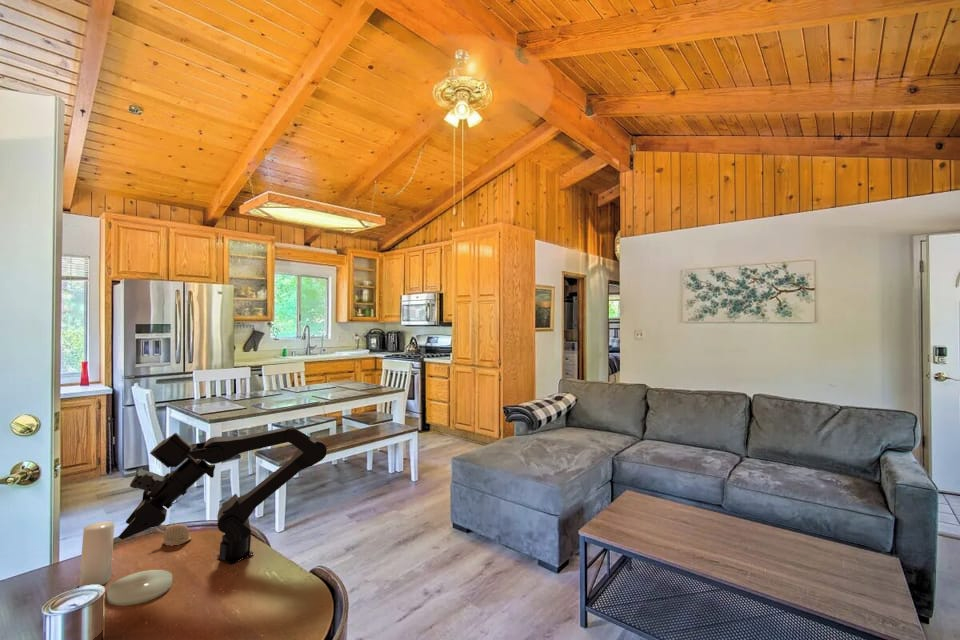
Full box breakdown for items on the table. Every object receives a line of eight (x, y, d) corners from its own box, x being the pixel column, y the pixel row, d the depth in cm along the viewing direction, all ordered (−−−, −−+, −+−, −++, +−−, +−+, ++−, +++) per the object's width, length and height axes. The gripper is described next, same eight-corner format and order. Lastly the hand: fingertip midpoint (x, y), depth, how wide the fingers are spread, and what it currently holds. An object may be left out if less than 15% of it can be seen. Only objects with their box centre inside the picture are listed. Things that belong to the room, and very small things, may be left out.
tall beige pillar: (103, 573, 109) (107, 519, 110) (114, 580, 107) (119, 524, 107) (74, 583, 104) (79, 527, 105) (85, 591, 102) (90, 533, 102)
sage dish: (155, 570, 111) (156, 564, 112) (182, 586, 106) (183, 579, 106) (96, 594, 101) (97, 587, 101) (122, 612, 95) (123, 605, 95)
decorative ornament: (186, 545, 125) (187, 526, 125) (152, 547, 123) (154, 527, 123) (192, 538, 129) (193, 520, 129) (159, 540, 127) (161, 521, 127)
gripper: (160, 449, 120) (104, 496, 114) (151, 469, 104) (85, 525, 98) (193, 475, 123) (139, 523, 117) (189, 499, 107) (127, 555, 101)
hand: (123, 530), depth 108 cm, fingers open, 9 cm apart
